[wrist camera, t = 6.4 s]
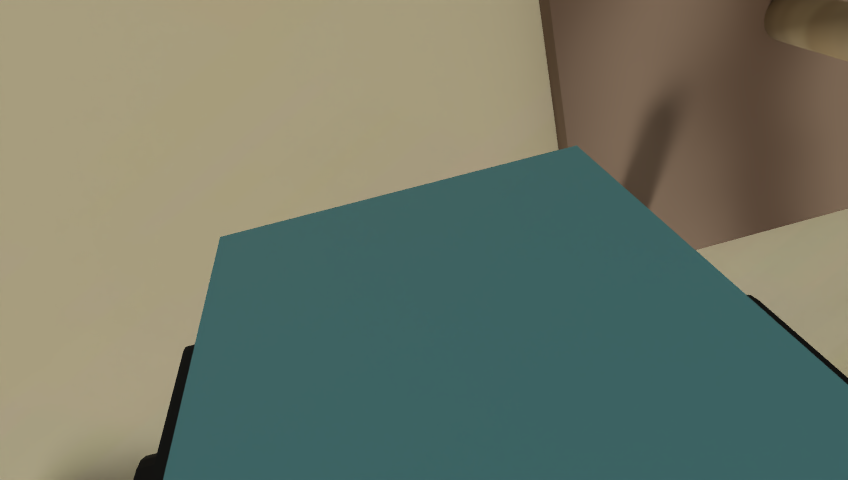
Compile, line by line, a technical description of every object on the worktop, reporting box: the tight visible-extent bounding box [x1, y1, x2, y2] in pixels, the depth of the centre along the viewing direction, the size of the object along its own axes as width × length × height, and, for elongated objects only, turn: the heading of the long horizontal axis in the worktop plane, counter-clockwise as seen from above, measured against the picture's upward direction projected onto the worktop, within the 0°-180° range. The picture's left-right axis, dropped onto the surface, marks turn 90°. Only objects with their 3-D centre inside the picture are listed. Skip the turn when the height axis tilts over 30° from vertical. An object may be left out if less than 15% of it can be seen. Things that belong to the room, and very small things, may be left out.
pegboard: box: [539, 0, 848, 250], centre depth 20 cm, size 14×14×5 cm
